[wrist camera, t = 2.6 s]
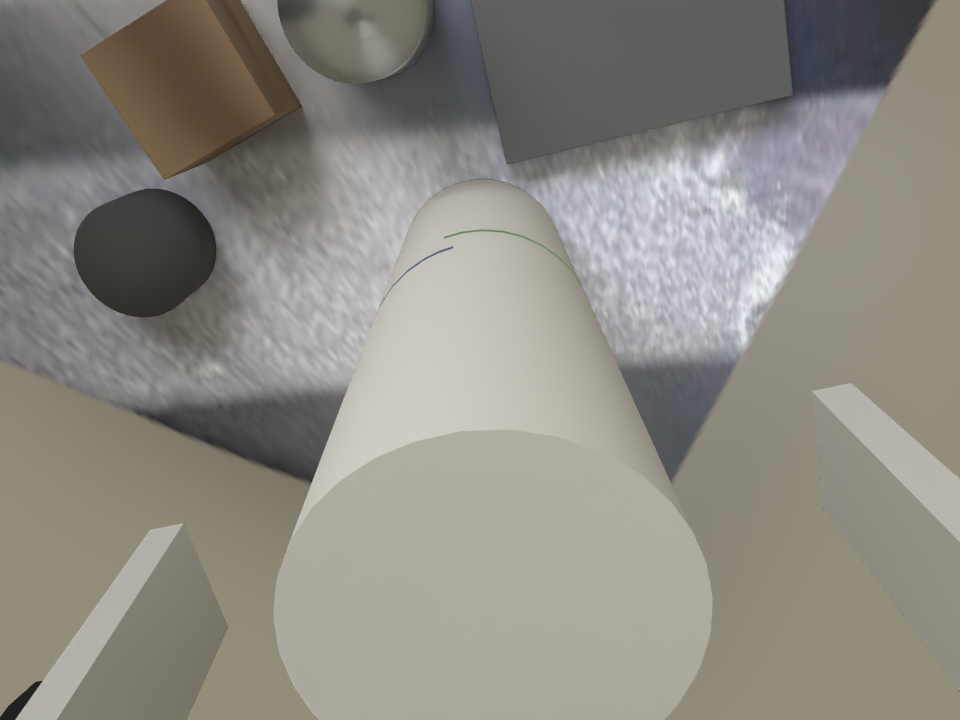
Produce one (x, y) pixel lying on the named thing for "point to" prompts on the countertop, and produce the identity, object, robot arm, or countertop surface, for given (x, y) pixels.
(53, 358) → the countertop surface
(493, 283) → the cylindrical container
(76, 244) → the black rubber puck
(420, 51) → the grey metal tin
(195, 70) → the walnut block
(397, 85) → the countertop surface
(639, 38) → the plate
